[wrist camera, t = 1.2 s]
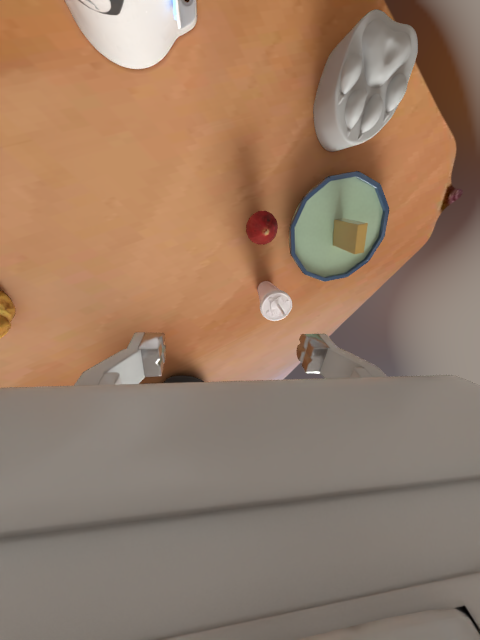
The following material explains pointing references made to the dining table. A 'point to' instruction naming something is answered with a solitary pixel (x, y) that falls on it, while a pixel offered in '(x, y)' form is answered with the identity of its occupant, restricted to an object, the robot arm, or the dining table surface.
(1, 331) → the bread roll
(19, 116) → the dining table surface
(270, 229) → the onion
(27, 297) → the dining table surface
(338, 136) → the lumpy-topped squat cylinder
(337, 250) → the plate
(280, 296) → the smoothie
